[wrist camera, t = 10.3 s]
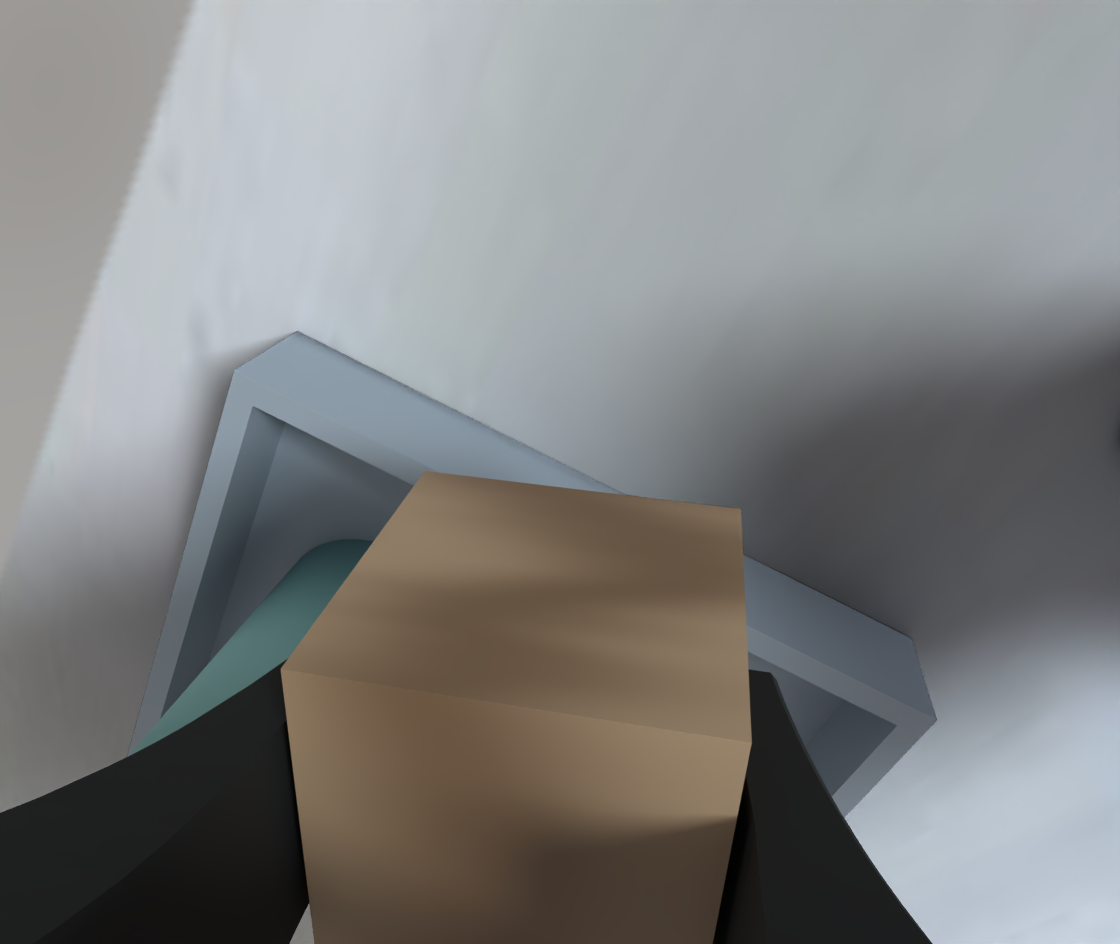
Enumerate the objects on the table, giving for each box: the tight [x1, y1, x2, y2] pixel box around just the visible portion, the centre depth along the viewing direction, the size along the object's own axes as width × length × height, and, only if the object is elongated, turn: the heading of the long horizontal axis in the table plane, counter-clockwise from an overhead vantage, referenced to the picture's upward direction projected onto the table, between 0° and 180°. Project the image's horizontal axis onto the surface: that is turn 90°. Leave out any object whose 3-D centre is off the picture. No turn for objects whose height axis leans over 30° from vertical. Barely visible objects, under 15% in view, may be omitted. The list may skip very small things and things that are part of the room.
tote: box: [127, 331, 937, 817], centre depth 23 cm, size 17×13×3 cm
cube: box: [281, 471, 752, 944], centre depth 12 cm, size 5×5×5 cm
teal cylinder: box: [133, 539, 373, 754], centre depth 20 cm, size 5×5×7 cm
